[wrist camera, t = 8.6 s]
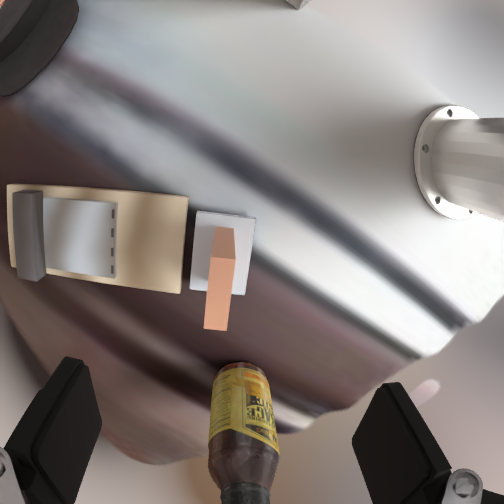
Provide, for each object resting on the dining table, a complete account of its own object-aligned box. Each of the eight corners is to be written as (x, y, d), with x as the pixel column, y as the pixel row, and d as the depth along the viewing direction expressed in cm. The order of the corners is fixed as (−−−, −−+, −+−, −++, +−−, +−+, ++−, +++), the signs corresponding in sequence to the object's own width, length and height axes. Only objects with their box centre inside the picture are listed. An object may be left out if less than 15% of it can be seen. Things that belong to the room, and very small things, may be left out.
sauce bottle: (275, 386, 34) (307, 538, 15) (228, 403, 35) (234, 552, 16) (251, 347, 32) (274, 519, 13) (201, 368, 33) (189, 532, 14)
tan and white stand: (255, 217, 27) (267, 247, 19) (244, 291, 29) (250, 345, 21) (197, 210, 26) (183, 237, 18) (190, 285, 28) (176, 337, 20)
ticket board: (189, 196, 27) (182, 202, 23) (181, 289, 30) (175, 307, 26) (12, 183, 25) (-9, 188, 21) (15, 263, 27) (-3, 275, 24)
